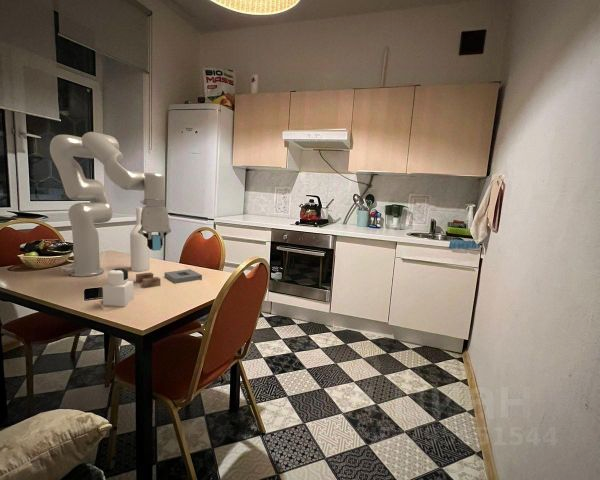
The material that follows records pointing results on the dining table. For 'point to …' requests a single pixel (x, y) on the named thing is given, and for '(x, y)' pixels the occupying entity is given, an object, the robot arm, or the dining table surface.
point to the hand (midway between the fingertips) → (155, 247)
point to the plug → (156, 242)
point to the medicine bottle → (118, 288)
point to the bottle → (139, 246)
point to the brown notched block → (147, 280)
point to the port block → (182, 276)
